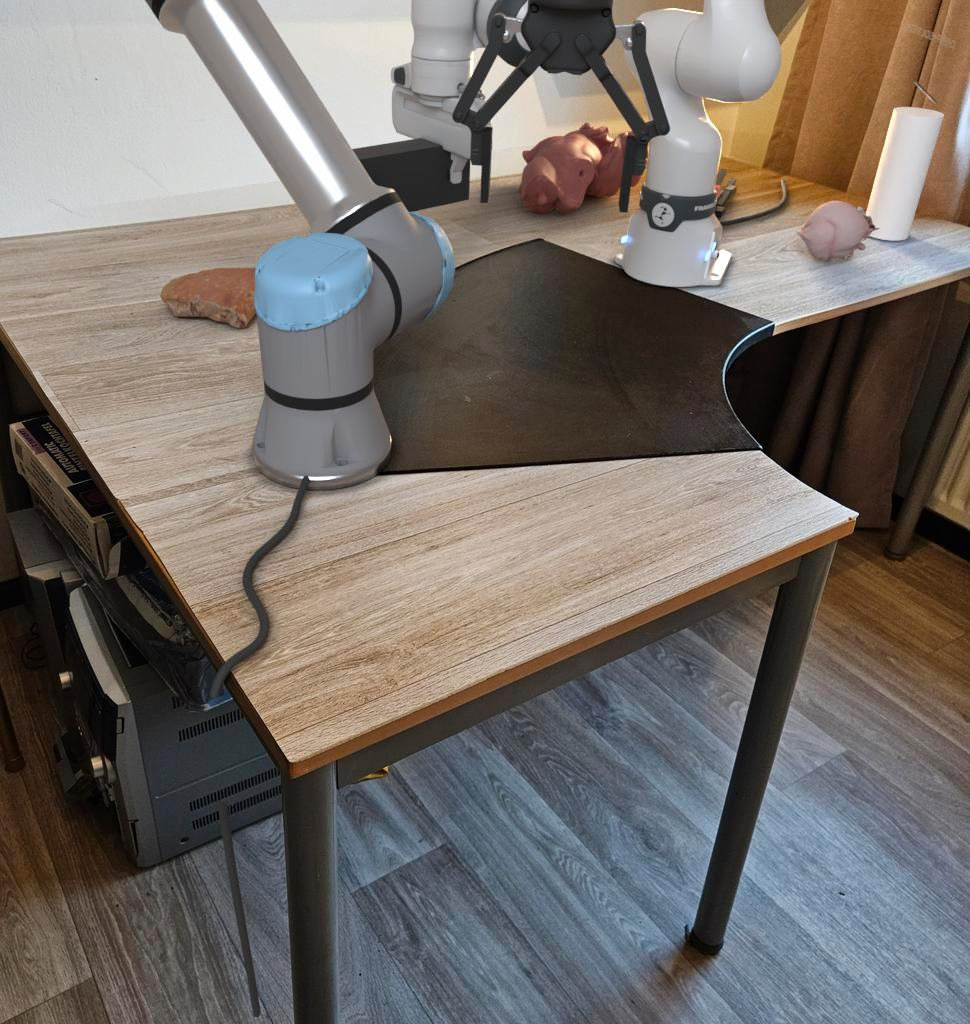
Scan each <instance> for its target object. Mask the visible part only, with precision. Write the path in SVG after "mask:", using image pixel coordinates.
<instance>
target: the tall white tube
mask: <svg viewBox="0 0 970 1024" xmlns="http://www.w3.org/2000/svg"><path fill="white" fill-rule="evenodd" d="M904 30H905V31H907V32H910V33H912V32H913V34H915V33H916V34H917V35H918V36H921V37H923V38H924V37H925V39H928V40H930V41H931V40H932V41H933V42H937V40H938V44H939V43H940V44H942V45H943V46H946V47H947V48H948V47H949V49H950V48H951V49H952V50H953V49H954V48H955V45H956V40H954V39H951V38H948V37H946V36H942V37H941V34H938V35H937V33H934V32H933V31H931V30H926V29H923V34H921V31H922V27H920V26H918V25H915V24H912V23H909V22H908V21H907V22H905V26H904ZM927 33H928V35H927ZM940 37H941V38H940ZM940 39H941V42H940ZM945 39H946V40H945ZM944 42H945V43H944ZM952 43H954V44H953V46H952ZM913 84H914V85H915V86H916V87H917V88H919V90H920V91H921V92H922V95H923V96H924V97H926V98H928V99H929V100H930V101H931V102H932V103H934V104H937V103H938V101H937V100H936V99H935V98H934V97H932V95H931V94H930V93H929V92H928V91H927V90H926V89H925V88H924V87H923V86H922V85H921V84H920V83H919V82H918V81H915V80H914V82H913ZM944 117H945V114H944V113H943V112H940V111H937V110H936V109H935V110H934V109H929V108H924V107H915V106H914V107H913V106H897V107H894V108H893V110H892V114H891V118H890V122H889V126H888V129H887V133H886V137H885V140H884V145H883V148H882V151H881V155H880V159H879V163H878V166H877V170H876V174H875V177H874V182H873V185H872V189H871V193H870V196H869V201H868V203H867V208H866V211H865V212H866V214H865V215H867V216H871V219H872V222H873V225H875V228H880V229H878V230H875V231H872V233H871V234H870V235H868V237H871V238H873V239H878V240H884V241H893V242H895V241H897V242H898V241H899V242H900V241H905V240H907V239H909V236H910V233H911V229H912V226H913V222H914V219H915V215H916V211H917V210H918V209H917V208H918V206H919V202H920V198H921V195H922V191H923V188H924V184H925V182H926V178H927V175H928V171H929V169H930V165H931V161H932V158H933V155H934V151H935V148H936V145H937V142H938V141H937V140H938V138H939V134H940V130H941V127H942V124H943V121H944Z"/></svg>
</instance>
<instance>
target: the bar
mask: <svg viewBox="0 0 970 1024" xmlns="http://www.w3.org/2000/svg"><path fill="white" fill-rule="evenodd" d="M352 150H353V151H354V153H355V155H356V156H357V158H358V159H359V161H360V162H361V164H362V166H363V167H364V169H365V170H366V172H367V173H368V175H369V177H370V178H371V180H372V181H373V182H374V183H375V184H376V185H377V186H381V187H386V188H390V189H393V190H394V191H395V192H396V193H397V195H398V196H399V198H400V200H401V201H402V203H403V204H404V206H405V207H406V209H407V211H408V212H418V211H424V210H427V209H428V210H429V209H432V208H437V207H443V206H446V205H451V204H457V203H460V202H465V201H469V200H470V183H471V182H470V181H471V160H470V159H468V160H467V162H466V164H465V166H464V168H463V170H462V180H461V182H460V183H456V184H453V183H451V182H448V181H447V170H449V169H451V166H452V163H453V160H451V152H448V151H445V150H443V146H442V145H439V144H437V143H434V142H431V141H428V140H426V139H423V138H418V139H413V138H411V139H405V140H401V141H394V142H387V143H381V144H376V145H369V146H368V145H367V146H364V147H356V148H352Z"/></svg>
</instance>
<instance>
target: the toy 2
mask: <svg viewBox="0 0 970 1024" xmlns="http://www.w3.org/2000/svg"><path fill="white" fill-rule="evenodd" d="M866 211H867V209H866V210H865V209H864V208H862V206H856V207H855V206H854V205H852V204H851V203H848V202H846V201H841V200H830V201H826V202H824V203H822V204H821V205H819V206H817V207H816V208H815V209H814V210H813V211H812V212H811V213H810V214H809V216H808V218H807V219H806V220H805V222H804V223H801V229H800V231H796V234H797V235H798V236H799V237H800V238H801V240H802V241H803V243H804V245H805V246H806V247H807V251H808V253H809V254H810V255H811V256H812V257H813V258H814V259H816V260H821V261H825V262H826V261H828V260H830V258H831V259H842V260H844V258H845V257H846V259H849V258H851V257H853V255H854V252H855V250H859V251H864V250H865V249H867V248H866V245H865V244H864V243H863V242H864V241H866V240H867V239H868V237H869V236H868V235H870V234H871V233H872V231H875V230H878V229H880V228H875V225H873V222H872V219H871V216H867V215H866Z"/></svg>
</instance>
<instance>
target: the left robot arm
mask: <svg viewBox="0 0 970 1024" xmlns="http://www.w3.org/2000/svg"><path fill="white" fill-rule="evenodd" d="M144 1H145V3H146V4H147V5H148V7H149V9H150V10H151V12H152V14H153V15H154V16H155V18H156V19H157V20H158V22H159V24H160V25H161V27H162V28H163V29H164V30H165V31H167V32H170V33H175V34H179V35H180V34H181V35H183V36H185V38H186V39H187V41H188V42H189V44H190V45H191V47H192V48H193V50H194V51H195V53H196V54H197V56H198V58H199V59H200V61H201V62H202V64H203V65H204V66H205V68H206V70H207V71H208V73H209V74H210V76H211V78H212V79H213V80H214V82H215V83H216V85H217V86H218V88H219V90H220V91H221V92H222V94H223V95H224V97H225V98H226V100H227V101H228V103H229V104H230V106H231V108H232V109H233V111H234V112H235V114H236V115H237V117H238V118H239V120H240V122H241V123H242V124H243V126H244V127H245V129H246V131H247V132H248V133H249V135H250V137H251V138H252V140H253V141H254V143H255V144H256V146H257V147H258V149H259V150H260V152H261V153H262V155H263V156H264V158H265V159H266V161H267V162H268V164H269V165H270V167H271V168H272V170H273V172H274V174H276V176H277V177H278V179H279V180H280V181H279V182H281V183H282V185H283V187H284V188H285V190H286V191H287V193H288V194H289V196H290V197H291V199H292V201H293V202H294V204H295V205H296V206H297V208H298V210H299V211H300V213H301V214H302V216H303V218H304V219H305V220H306V222H307V223H308V224H309V226H310V233H309V235H307V236H301V235H296V236H293V237H289V238H287V239H284V240H282V241H280V242H278V243H276V244H274V245H273V246H271V247H270V248H269V249H267V250H266V251H265V252H263V254H262V255H261V257H260V258H259V260H258V261H257V263H256V266H255V268H256V269H255V292H254V305H255V309H256V314H255V315H256V322H257V331H258V333H257V334H258V340H259V342H258V343H259V350H260V351H259V352H260V360H261V370H262V378H263V388H264V390H263V391H264V396H263V400H262V404H261V408H260V412H259V415H258V419H257V423H256V427H255V430H254V434H253V439H252V455H253V460H254V464H255V467H256V468H257V470H258V471H259V472H260V473H261V474H262V475H263V476H265V477H266V478H268V479H269V480H271V481H273V482H275V483H278V484H280V485H283V486H286V487H290V488H295V489H298V490H297V492H296V494H295V497H294V500H293V501H294V502H293V504H292V507H291V510H290V514H289V516H288V518H287V520H286V522H285V523H284V525H283V526H282V527H281V528H280V529H279V530H278V532H277V533H275V534H274V535H273V537H271V538H270V539H268V540H267V541H266V542H265V543H264V544H263V545H262V546H260V547H259V548H257V550H255V552H254V553H253V554H252V555H251V557H250V558H249V559H248V561H247V563H246V565H245V567H244V569H243V572H242V586H243V590H244V592H245V594H246V596H247V599H248V600H249V602H250V603H251V606H252V607H253V608H254V610H255V612H256V614H257V616H258V621H259V630H258V635H257V636H256V637H255V639H254V640H253V641H252V642H251V643H249V644H248V645H246V646H245V647H244V648H242V649H241V650H239V651H238V652H235V653H234V654H233V655H232V656H231V657H229V658H228V659H227V660H226V661H225V662H224V663H223V664H222V665H221V666H220V668H219V670H218V671H217V673H216V675H215V677H214V679H213V681H212V685H211V688H210V691H209V697H210V698H212V699H214V698H215V699H216V698H218V696H220V693H221V691H222V688H223V685H224V682H225V680H226V678H227V677H228V675H229V674H230V673H231V672H232V670H233V669H234V668H235V667H236V666H237V665H239V664H240V663H241V662H243V661H244V660H246V659H247V658H249V657H250V656H251V655H253V654H255V653H256V652H257V651H259V650H260V649H261V648H262V647H263V645H264V643H265V642H266V640H267V637H269V631H270V619H269V615H268V613H267V610H266V608H265V607H264V604H263V602H262V601H261V599H260V598H259V597H258V594H257V593H256V591H255V589H254V587H253V583H252V575H253V571H254V568H255V567H256V565H257V564H258V563H259V561H261V559H262V558H263V557H264V556H265V555H266V554H267V553H268V552H270V551H271V550H272V549H273V548H274V547H275V546H277V545H278V544H279V543H280V542H282V540H283V539H285V538H286V536H287V535H288V534H289V532H290V531H291V530H292V528H293V527H294V526H295V523H296V522H297V519H298V516H299V513H300V510H301V506H302V503H303V500H304V497H305V494H306V492H307V490H312V491H314V490H315V491H323V490H327V491H328V490H337V489H342V488H348V487H351V486H355V485H358V484H361V483H363V482H366V481H368V480H370V479H373V478H374V477H375V476H377V475H378V474H380V473H381V472H382V471H383V470H384V469H385V468H386V467H387V466H388V464H389V463H390V461H391V458H392V437H391V432H390V430H389V427H388V424H387V422H386V419H385V417H384V413H383V411H382V408H381V406H380V403H379V400H378V398H377V395H376V393H375V385H374V351H375V349H376V348H378V347H380V346H381V345H383V344H384V343H386V342H388V341H390V340H392V339H393V338H395V337H396V336H398V335H400V334H401V333H403V332H405V331H406V330H408V329H409V328H411V327H413V326H415V325H418V324H420V323H422V322H423V321H425V320H426V319H428V318H429V317H430V316H432V314H433V313H434V312H435V311H436V310H437V309H439V308H440V307H441V306H442V305H443V304H444V303H445V302H446V300H447V299H448V298H449V295H450V293H451V291H452V288H453V285H454V277H455V274H456V261H455V254H454V250H453V247H452V244H451V242H450V240H449V238H448V236H447V234H446V233H445V231H444V230H443V228H442V227H441V226H440V225H439V224H438V223H437V222H436V221H435V220H433V219H432V218H431V217H429V216H428V215H426V216H425V215H422V214H421V213H420V212H417V211H414V212H408V211H407V209H406V207H405V206H404V204H403V203H402V201H401V200H400V198H399V196H398V195H397V193H396V192H395V191H394V190H393V189H390V188H386V187H381V186H377V185H376V184H375V183H374V182H373V181H372V180H371V178H370V177H369V175H368V173H367V172H366V170H365V169H364V167H363V166H362V164H361V162H360V161H359V159H358V158H357V156H356V155H355V153H354V151H353V150H352V149H353V148H352V147H351V146H350V144H349V142H348V141H347V139H346V137H345V136H344V134H343V133H342V131H341V130H340V128H339V126H338V124H337V123H336V122H335V120H334V118H333V117H332V115H331V113H330V112H329V111H328V109H327V107H326V106H325V104H324V102H323V101H322V100H321V97H319V95H318V94H317V92H316V90H315V89H314V87H313V86H312V84H311V83H310V81H309V79H308V77H307V76H306V75H305V72H304V71H303V70H302V68H301V67H300V65H299V64H298V62H297V61H296V59H295V56H294V55H293V54H292V52H291V51H290V49H289V48H288V46H287V44H286V43H285V42H284V40H283V38H282V36H281V35H280V34H279V32H278V30H277V29H276V27H275V26H274V24H273V23H272V21H271V20H270V18H269V16H268V15H267V13H266V11H265V10H264V9H263V7H262V5H261V4H260V3H259V0H144ZM614 1H615V0H528V9H527V13H526V16H525V17H524V19H519V18H514V17H508V16H506V15H505V14H504V13H502V12H498V13H496V14H495V15H494V17H493V20H492V24H491V31H490V37H489V42H488V44H487V46H486V48H484V50H483V52H482V54H481V56H480V58H479V60H478V62H477V64H476V66H475V68H474V69H473V74H472V76H471V78H470V80H469V82H468V84H467V86H466V88H465V90H464V91H463V93H462V95H461V97H460V99H459V101H458V103H457V105H456V107H455V109H454V112H453V114H452V118H453V120H454V121H455V122H456V123H461V124H464V125H466V126H467V127H468V128H469V129H470V131H471V152H470V164H471V165H472V166H480V167H481V169H480V170H481V171H480V194H479V195H480V196H479V197H480V198H479V204H489V200H490V195H491V194H490V193H491V174H492V173H491V172H492V171H491V170H492V153H493V133H494V132H493V131H494V130H493V129H494V126H492V127H485V126H486V125H487V124H488V122H489V121H490V120H491V121H492V120H493V118H494V117H495V115H497V114H498V112H500V110H501V109H502V108H503V107H504V106H505V105H506V104H507V102H508V101H509V100H510V99H511V98H512V97H513V96H514V94H515V93H516V92H517V91H518V90H519V89H520V88H521V87H522V85H523V84H524V83H525V82H526V81H527V80H528V79H529V78H530V77H531V76H532V75H533V74H534V73H535V72H536V71H537V70H538V68H539V67H540V68H541V69H542V70H543V71H545V72H547V74H555V75H557V74H560V73H561V74H562V73H567V74H570V75H573V76H583V75H584V74H586V73H588V72H590V71H592V72H593V74H594V75H595V77H596V78H597V80H598V81H599V82H600V84H601V85H602V87H603V89H604V90H605V92H606V93H607V95H608V96H609V98H610V99H611V101H612V102H613V103H614V106H615V107H616V109H617V110H618V111H619V113H620V114H621V116H622V118H623V119H624V121H625V122H626V124H627V125H628V127H629V128H630V130H631V131H633V133H634V134H635V136H627V138H626V146H625V154H624V163H623V171H622V179H621V187H620V189H619V196H618V210H619V213H627V214H628V211H629V204H630V196H631V188H632V187H631V181H632V175H636V176H641V177H642V176H643V174H644V173H645V170H646V169H645V163H646V160H647V159H646V155H647V148H648V149H649V143H650V140H651V139H652V138H654V137H657V136H660V135H661V136H665V135H667V134H668V133H669V131H670V125H669V122H668V119H667V116H666V113H665V110H664V107H663V103H662V100H661V97H660V94H659V91H658V88H657V85H656V82H655V79H654V75H653V72H652V69H651V66H650V63H649V60H648V57H647V54H646V27H645V25H644V23H643V22H642V21H640V20H636V19H635V20H636V21H635V20H634V21H633V22H632V23H619V24H617V23H616V24H615V22H614V18H613V12H614ZM518 32H520V33H521V34H522V36H523V38H524V40H525V42H526V43H527V45H528V47H529V49H530V52H529V53H528V54H527V55H526V56H525V57H524V58H523V60H522V61H521V62H520V64H519V65H518V66H517V67H514V69H513V70H512V71H511V72H510V74H509V75H508V76H507V77H506V78H505V79H504V81H503V82H502V83H501V84H500V85H499V86H498V88H497V89H496V90H494V92H493V93H492V94H491V95H490V97H489V98H488V99H487V101H486V102H485V104H484V105H483V106H482V107H481V108H480V109H479V110H478V111H477V112H475V111H473V110H471V109H470V108H471V106H472V104H473V102H474V100H475V98H476V96H477V94H478V92H479V90H481V88H482V87H483V85H484V83H485V80H486V78H487V77H488V75H489V72H490V71H491V69H492V68H493V65H494V63H495V61H496V59H497V58H498V53H499V51H500V48H501V46H502V43H509V42H510V41H511V40H512V37H513V36H514V34H516V33H518ZM615 39H619V40H620V41H621V43H622V46H623V49H624V50H625V49H626V50H631V51H632V56H633V59H634V63H635V66H636V69H637V72H638V75H639V78H640V81H641V84H642V87H643V90H644V93H645V96H646V99H647V102H648V105H649V108H650V111H651V114H652V117H653V120H652V121H649V120H648V121H645V120H644V118H643V117H642V115H641V114H640V112H639V111H638V108H637V107H636V106H635V104H634V103H633V101H632V100H631V98H630V97H629V95H628V94H627V92H626V90H625V88H623V85H622V84H621V83H620V81H619V80H618V78H617V77H616V74H615V73H614V71H613V70H612V69H611V67H610V65H609V63H608V62H607V60H606V58H605V57H604V53H605V52H606V51H607V50H608V49H609V48H610V46H611V45H612V44H613V42H614V41H615ZM217 807H218V815H219V821H220V822H219V823H220V829H221V830H220V831H221V836H222V843H223V844H222V845H223V850H224V857H225V863H226V869H227V875H228V881H229V886H230V893H231V897H232V901H233V902H232V903H233V904H232V905H233V910H234V915H235V919H236V925H237V930H238V935H239V941H240V946H241V947H240V948H241V952H242V958H243V963H244V968H245V974H246V980H247V985H248V986H247V987H248V992H249V997H250V1004H251V1010H252V1015H253V1017H254V1018H259V1017H260V1016H261V1013H262V1012H261V1005H260V998H259V991H258V986H257V980H256V973H255V967H254V961H253V956H252V955H253V954H252V951H251V944H250V939H249V938H250V937H249V933H248V928H247V923H246V915H245V911H244V905H243V899H242V893H241V887H240V881H239V875H238V868H237V863H236V862H237V861H236V857H235V849H234V843H233V835H232V827H231V819H230V811H229V803H226V802H223V801H220V800H217Z"/></svg>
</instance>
